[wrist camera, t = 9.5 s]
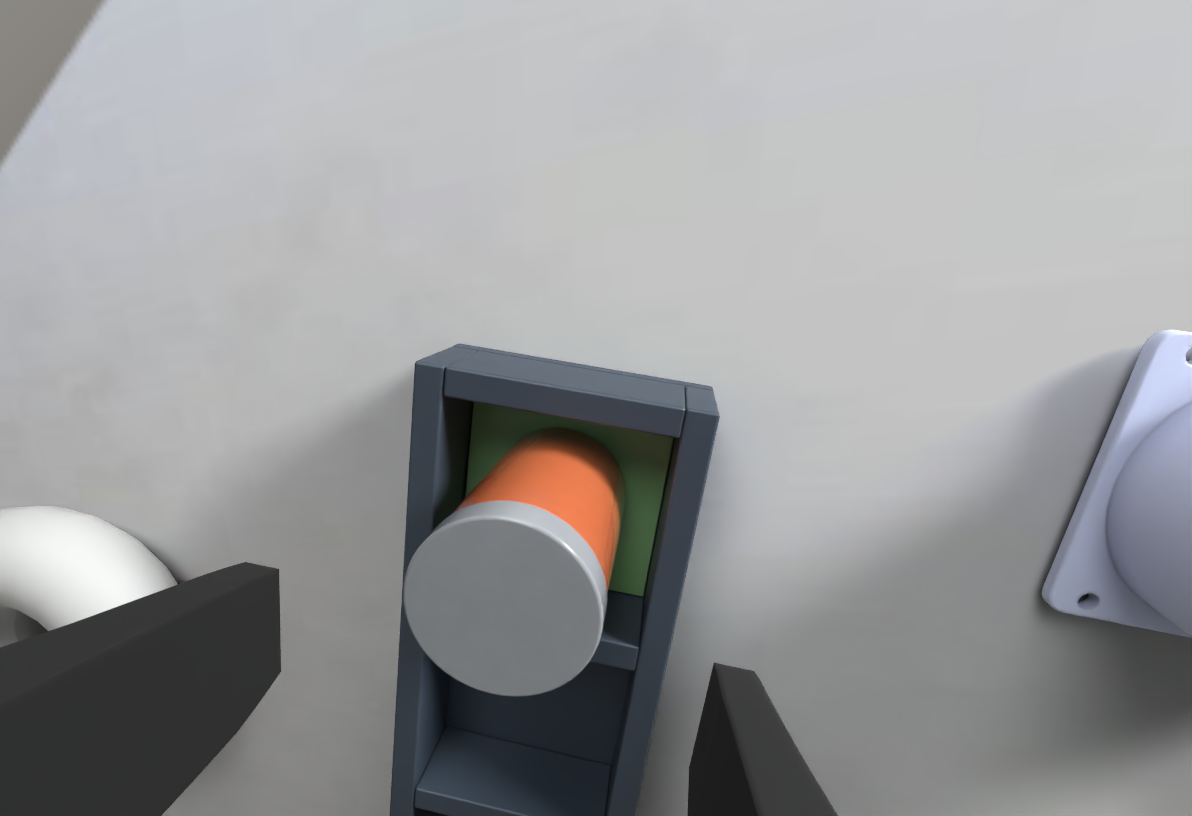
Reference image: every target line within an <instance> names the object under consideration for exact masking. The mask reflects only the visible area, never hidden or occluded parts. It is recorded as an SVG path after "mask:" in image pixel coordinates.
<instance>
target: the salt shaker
mask: <svg viewBox="0 0 1192 816" xmlns="http://www.w3.org/2000/svg"><path fill="white" fill-rule="evenodd" d="M626 498H627V493H626V484H625V479H624V476H623V473H622V471H621V469H620V467H619V465H618V463H617V461H616V460H615V458H614V457H613V456H612V454H611V453H610V452H609V451H608V450H607V449H606V448H605V447H604V446H603V445H602V444H600V443H599V442H598V441H596V440H595V439H593V438H591V437H589V436H588V435H586V434H583V433H581V432H578V431H574V430H570V429H564V428H547V429H541V430H537V431H534V432H531V433H529V434H527V435H525V436H523V437H522V438H520V439H518V440H517V441H516V442H515V443H513V444H512V445H511V446H510V447H509V449H508V450H507V451H506V452H505V453H504V454H503V455H502V456H501V458H500V459H499V460H498V461H497V462H496V463H495V464H494V466H493V467H492V468H491V469H490V470H489V471H488V472H487V474H486V475H485V476H484V477H483V478H482V479H481V480H480V482H479V483H478V484H477V485H476V486H475V487H474V488H473V490H472V491H471V492H470V493H469V494H468V495H467V496H466V497H465V499H464V500H463V501H462V502H461V503H460V504H459V505H458V507H457V508H456V509H455V510H454V511H453V512H452V513H451V515H450V516H448V517H447V518H446V519H445V520H443V521H442V522H441V523H440V524H439V525H438V526H437V527H436V528H435V529H434V530H433V531H432V533H431V534H430V535H429V536H428V537H427V538H426V539H425V540H424V542H423V543H422V544H421V545H420V546H419V548H418V549H417V551H416V552H415V554H414V555H413V557H412V559H411V561H410V563H409V566H408V569H407V572H406V576H405V582H404V607H405V613H406V616H407V620H408V623H409V626H410V628H411V630H412V633H413V635H414V637H415V638H416V640H417V642H418V643H419V645H420V647H421V648H422V649H423V650H424V652H425V653H426V654H427V656H428V657H429V658H430V659H431V660H432V661H433V662H434V663H435V664H436V665H437V666H438V667H439V668H441V669H442V670H443V671H444V672H445V673H447V674H448V675H450V676H451V677H453V678H454V679H456V680H457V681H459V682H461V683H463V684H465V685H467V686H469V687H472V688H474V689H477V690H479V691H483V692H486V693H490V694H494V695H500V696H510V697H523V696H532V695H538V694H542V693H545V692H549V691H552V690H554V689H556V688H558V687H560V686H562V685H564V684H566V683H567V682H569V681H570V680H572V679H573V678H574V677H575V676H576V675H578V674H579V673H580V672H581V671H582V670H583V669H584V668H585V667H586V665H587V664H588V663H589V662H590V660H591V659H592V657H593V655H594V654H595V652H596V650H597V647H598V645H599V642H600V639H601V635H602V631H603V626H604V621H605V616H606V610H607V594H608V589H609V584H610V579H611V574H612V570H613V565H614V560H615V555H616V550H617V545H618V540H619V536H620V531H621V526H622V521H623V516H624V511H625V506H626Z"/></svg>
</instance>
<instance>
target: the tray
mask: <svg viewBox="0 0 1192 816" xmlns="http://www.w3.org/2000/svg"><path fill="white" fill-rule="evenodd" d="M719 417H720V416H719V412H718V408H717V404H716V401H715V397H714V393H713V389H712V387H711V386H705V385H700V384H694V383H688V382H682V381H676V380H670V379H664V378H658V377H652V376H647V375H641V374H635V373H629V372H623V371H617V370H611V369H605V368H599V367H594V366H588V365H582V364H576V363H570V362H564V361H558V360H552V359H547V358H541V357H535V356H529V355H523V354H517V353H511V352H505V351H499V350H494V349H488V348H482V347H476V346H470V345H464V344H457V345H455V346H453V347H451V348H448V349H446V350H443V351H441V352H438V353H436V354H433V355H431V356H428V357H426V358H423V359H421V360H418V361H416V363H415V372H414V390H413V408H412V426H411V444H410V462H409V480H408V498H407V516H406V534H405V552H404V570H403V588H402V606H401V624H400V642H399V660H398V678H397V696H396V714H395V732H394V750H393V768H392V786H391V804H390V816H635V811H636V806H637V801H638V797H639V792H640V787H641V783H642V778H643V773H644V769H645V764H646V759H647V755H648V750H649V745H650V740H651V736H652V731H653V726H654V722H655V717H656V712H657V708H658V703H659V698H660V694H661V689H662V684H663V680H664V675H665V670H666V665H667V661H668V656H669V651H670V647H671V642H672V637H673V633H674V628H675V623H676V619H677V614H678V609H679V604H680V600H681V595H682V590H683V586H684V581H685V576H686V572H687V567H688V562H689V558H690V553H691V548H692V543H693V539H694V534H695V529H696V525H697V520H698V515H699V511H700V506H701V501H702V497H703V492H704V487H705V483H706V478H707V473H708V468H709V464H710V459H711V454H712V450H713V445H714V440H715V436H716V431H717V426H718V422H719ZM547 428H564V429H570V430H574V431H578V432H581V433H583V434H586V435H588V436H589V437H591V438H593V439H595V440H596V441H598V442H599V443H600V444H602V445H603V446H604V447H605V448H606V449H607V450H608V451H609V452H610V453H611V454H612V456H613V457H614V458H615V460H616V461H617V463H618V465H619V467H620V469H621V471H622V473H623V476H624V479H625V484H626V493H627V498H626V506H625V511H624V516H623V521H622V526H621V531H620V536H619V540H618V545H617V550H616V555H615V560H614V565H613V570H612V574H611V579H610V584H609V589H608V594H607V610H606V616H605V621H604V626H603V631H602V635H601V639H600V642H599V645H598V647H597V650H596V652H595V654H594V655H593V657H592V659H591V660H590V662H589V663H588V664H587V665H586V667H585V668H584V669H583V670H582V671H581V672H580V673H579V674H578V675H576V676H575V677H574V678H573V679H572V680H570V681H569V682H567V683H566V684H564V685H562V686H560V687H558V688H556V689H554V690H552V691H549V692H545V693H542V694H538V695H532V696H523V697H510V696H500V695H494V694H490V693H486V692H483V691H479V690H477V689H474V688H472V687H469V686H467V685H465V684H463V683H461V682H459V681H457V680H456V679H454V678H453V677H451V676H450V675H448V674H447V673H445V672H444V671H443V670H442V669H441V668H439V667H438V666H437V665H436V664H435V663H434V662H433V661H432V660H431V659H430V658H429V657H428V656H427V654H426V653H425V652H424V650H423V649H422V648H421V647H420V645H419V643H418V642H417V640H416V638H415V637H414V635H413V633H412V630H411V628H410V626H409V623H408V620H407V616H406V613H405V607H404V582H405V576H406V572H407V569H408V566H409V563H410V561H411V559H412V557H413V555H414V554H415V552H416V551H417V549H418V548H419V546H420V545H421V544H422V543H423V542H424V540H425V539H426V538H427V537H428V536H429V535H430V534H431V533H432V531H433V530H434V529H435V528H436V527H437V526H438V525H439V524H440V523H441V522H442V521H443V520H445V519H446V518H447V517H448V516H450V515H451V513H452V512H453V511H454V510H455V509H456V508H457V507H458V505H459V504H460V503H461V502H462V501H463V500H464V499H465V497H466V496H467V495H468V494H469V493H470V492H471V491H472V490H473V488H474V487H475V486H476V485H477V484H478V483H479V482H480V480H481V479H482V478H483V477H484V476H485V475H486V474H487V472H488V471H489V470H490V469H491V468H492V467H493V466H494V464H495V463H496V462H497V461H498V460H499V459H500V458H501V456H502V455H503V454H504V453H505V452H506V451H507V450H508V449H509V447H510V446H511V445H512V444H513V443H515V442H516V441H517V440H518V439H520V438H522V437H523V436H525V435H527V434H529V433H531V432H534V431H537V430H541V429H547Z"/></svg>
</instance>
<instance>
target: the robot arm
mask: <svg viewBox="0 0 1192 816" xmlns="http://www.w3.org/2000/svg"><path fill="white" fill-rule="evenodd" d="M1190 348H1192V333H1190V332H1184V331H1177V330H1163V331H1160V332H1157V333H1155V334H1154V335H1152V336H1151V337H1150V338H1148V339H1147V341H1146V342H1145V344H1144V345H1143V347H1142V350H1141V352H1140V354H1139V357H1138V359H1137V362H1136V364H1135V366H1134V369H1133V371H1132V374H1131V376H1130V379H1129V381H1128V383H1127V386H1126V388H1125V391H1124V393H1123V395H1122V398H1121V400H1120V403H1119V405H1118V407H1117V410H1116V412H1115V415H1114V417H1113V419H1112V422H1111V424H1110V427H1109V429H1108V432H1107V434H1106V436H1105V439H1104V441H1103V444H1102V446H1101V448H1100V451H1099V453H1098V456H1097V458H1096V460H1095V463H1094V465H1093V468H1092V470H1091V472H1090V475H1089V477H1088V480H1087V482H1086V485H1085V487H1084V489H1083V492H1082V494H1081V497H1080V499H1079V501H1078V504H1077V506H1076V509H1075V511H1074V513H1073V516H1072V518H1071V521H1070V523H1069V525H1068V528H1067V530H1066V533H1065V535H1064V537H1063V540H1062V542H1061V545H1060V547H1059V550H1058V552H1057V554H1056V557H1055V559H1054V562H1053V564H1052V566H1051V569H1050V571H1049V574H1048V576H1047V578H1046V581H1045V583H1044V586H1043V589H1042V596H1043V599H1044V600H1045V601H1046V602H1047V603H1048V604H1049V605H1050V606H1051V607H1053V608H1054V609H1055V610H1057V611H1059V612H1062V613H1067V614H1073V615H1078V616H1083V617H1088V618H1093V619H1098V620H1103V621H1108V622H1113V623H1118V624H1124V625H1129V626H1134V627H1139V628H1144V629H1149V630H1154V631H1159V632H1164V633H1169V634H1175V635H1180V636H1185V637H1190V638H1192V360H1190V361H1188V362H1187V361H1186V353H1187V352H1188V350H1189V349H1190ZM1085 594H1089V596H1088V597H1087V598H1086V599H1085V600H1083V601H1081V602H1078V600H1079V598H1080V597H1081V596H1082V595H1085ZM280 672H281V650H280V595H279V569H276V568H271V567H266V566H262V565H257V564H252V563H248V562H244V563H240V564H237V565H233V566H230V567H227V568H224V569H220V570H217V571H215V572H212V573H209V574H206V575H203V576H200V577H197V578H194V579H192V580H189V581H186V582H183V583H180V584H178V585H175V586H172V587H170V588H167V589H164V590H161V591H159V592H156V593H153V594H150V595H148V596H145V597H142V598H140V599H137V600H134V601H131V602H129V603H126V604H123V605H120V606H118V607H115V608H112V609H109V610H107V611H104V612H101V613H98V614H96V615H93V616H90V617H88V618H85V619H82V620H79V621H76V622H74V623H71V624H68V625H65V626H62V627H59V628H56V629H53V630H50V631H47V632H44V633H41V634H38V635H35V636H32V637H29V638H27V639H24V640H21V641H18V642H15V643H12V644H9V645H6V646H3V647H0V816H161V815H162V814H163V813H164V812H165V811H166V810H167V809H168V808H169V807H170V806H171V805H172V803H173V802H174V801H175V800H176V799H177V798H178V797H179V796H180V795H181V794H182V793H183V791H184V790H185V789H186V788H187V787H188V786H189V785H190V784H191V783H192V782H193V781H194V779H195V778H196V777H197V776H198V775H199V774H200V773H201V772H202V771H203V769H204V768H205V767H206V766H207V765H208V764H209V763H210V762H211V761H212V760H213V758H214V757H215V756H216V755H217V754H218V753H219V752H220V751H221V750H222V748H223V747H224V746H225V745H226V744H227V743H228V742H229V741H230V739H231V738H232V737H233V736H234V735H235V734H236V733H237V731H238V730H239V729H240V727H241V726H242V725H243V723H244V722H245V721H246V719H247V718H248V717H249V715H250V714H251V713H252V711H253V710H254V709H255V707H256V706H257V705H258V703H259V702H260V701H261V699H262V698H263V696H264V695H265V693H266V692H267V691H268V689H269V688H270V686H271V685H272V683H273V682H274V681H275V679H276V678H277V676H278V675H279V673H280ZM688 816H838V815H837V813H836V812H835V810H834V808H833V807H832V805H831V804H830V802H829V800H828V799H827V797H826V795H825V794H824V792H823V790H822V789H821V787H820V786H819V784H818V782H817V781H816V779H815V777H814V776H813V774H812V772H811V771H810V769H809V767H808V766H807V764H806V762H805V760H804V759H803V757H802V755H801V754H800V752H799V750H798V748H797V747H796V745H795V743H794V741H793V740H792V738H791V736H790V734H789V732H788V731H787V729H786V727H785V725H784V724H783V722H782V720H781V718H780V716H779V714H778V713H777V711H776V709H775V707H774V705H773V703H772V702H771V700H770V698H769V696H768V694H767V692H766V690H765V688H764V687H763V685H762V683H761V681H760V679H759V678H758V676H757V675H756V673H755V672H754V671H751V670H746V669H741V668H737V667H732V666H727V665H723V664H718V663H714V665H713V669H712V673H711V677H710V682H709V686H708V690H707V694H706V699H705V703H704V707H703V711H702V716H701V720H700V724H699V728H698V733H697V737H696V741H695V745H694V749H693V754H692V758H691V762H690V766H689V791H688Z"/></svg>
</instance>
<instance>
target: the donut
mask: <svg viewBox="0 0 1192 816" xmlns="http://www.w3.org/2000/svg"><path fill="white" fill-rule="evenodd" d="M175 585H178V584H177V582H176V580H175V579H174V577H173V576H172V574H171V573H170V571H169V570H168V568H167V567H166V566H165V565H164V564H163V563H162V562H161V561H160V560H159V559H158V558H157V557H156V556H155V555H154V554H153V553H152V552H151V551H149V550H148V549H147V548H146V547H145V546H144V545H143V544H142V543H141V542H140V541H139V540H138V539H136V538H134V537H132V536H131V535H129V534H127V533H126V532H124V531H122V530H120V529H119V528H117V527H115V526H113V525H112V524H110V523H108V522H107V521H105V520H102V519H100V518H98V517H96V516H92V515H88V514H85V513H81V512H77V511H73V510H70V509H66V508H62V507H59V506H28V507H9V508H2V509H0V647H3V646H6V645H9V644H12V643H15V642H18V641H21V640H24V639H27V638H29V637H32V636H35V635H38V634H41V633H44V632H47V631H50V630H53V629H56V628H59V627H62V626H65V625H68V624H71V623H74V622H76V621H79V620H82V619H85V618H88V617H90V616H93V615H96V614H98V613H101V612H104V611H107V610H109V609H112V608H115V607H118V606H120V605H123V604H126V603H129V602H131V601H134V600H137V599H140V598H142V597H145V596H148V595H150V594H153V593H156V592H159V591H161V590H164V589H167V588H170V587H172V586H175Z"/></svg>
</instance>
